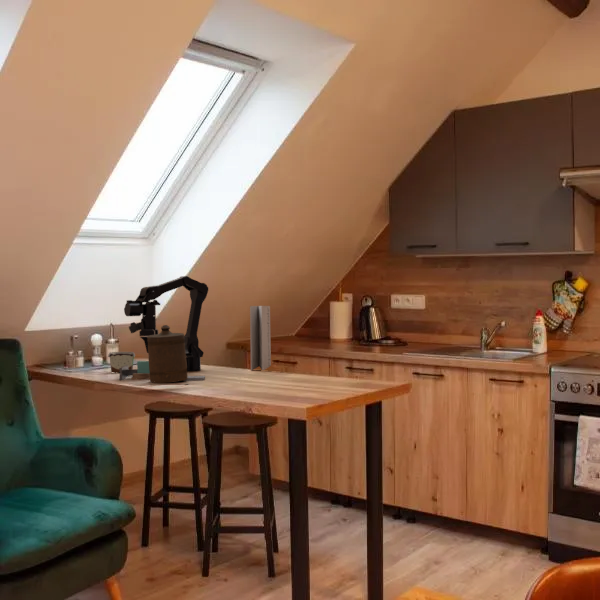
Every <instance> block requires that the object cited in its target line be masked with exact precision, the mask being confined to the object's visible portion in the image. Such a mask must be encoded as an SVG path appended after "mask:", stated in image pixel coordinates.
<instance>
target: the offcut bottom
mask: <svg viewBox="0 0 600 600" xmlns="http://www.w3.org/2000/svg"><path fill="white" fill-rule="evenodd" d="M130 380H131V381H137V380H150V377H143V378H133V376H131V378H130Z"/></svg>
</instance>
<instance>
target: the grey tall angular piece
mask: <svg viewBox="0 0 600 600" xmlns="http://www.w3.org/2000/svg"><path fill="white" fill-rule="evenodd" d="M249 319H250V320H249V323H250V324H249V327H250V329H249V330H250V331H249V332H250V333H249V334H250V339H249V341H250V371H254V370H255V369H257V368H259V369H261V371H264V370H267V369H268V368H270V367H271V366H272V353H271V349H272V348H271V346H272V345H271V344H272V343H271V305H250V306H249Z"/></svg>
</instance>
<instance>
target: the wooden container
mask: <svg viewBox="0 0 600 600" xmlns="http://www.w3.org/2000/svg"><path fill="white" fill-rule="evenodd" d="M160 329H161V331H160V333H159V334H155V335H150V336H147V340H148V353H147V354H148V361H149V372H150V379H149V380H150V381H149V382H151V383H155V384H159V383H160V384H167V383H175V382H176V383H179V382H184V381H183V380H186V379H187V378H188V376H189V375H188V371H187V362H186V352H185V342H184V341H185V338H184V336H185V333H184V332H172V331H170V329H171V327H170V326H169V325H167V324H163V325H162V326H161V327H160Z"/></svg>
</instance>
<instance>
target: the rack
mask: <svg viewBox="0 0 600 600" xmlns="http://www.w3.org/2000/svg"><path fill="white" fill-rule="evenodd" d="M119 370H120V373H119V381H123V380H124V379H126V377H127V376H128V375H133V374H134V373H137V368H133V369H128V365H125V366H123V367H121V368H119ZM128 377H129V376H128ZM128 377H127V378H128Z"/></svg>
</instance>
